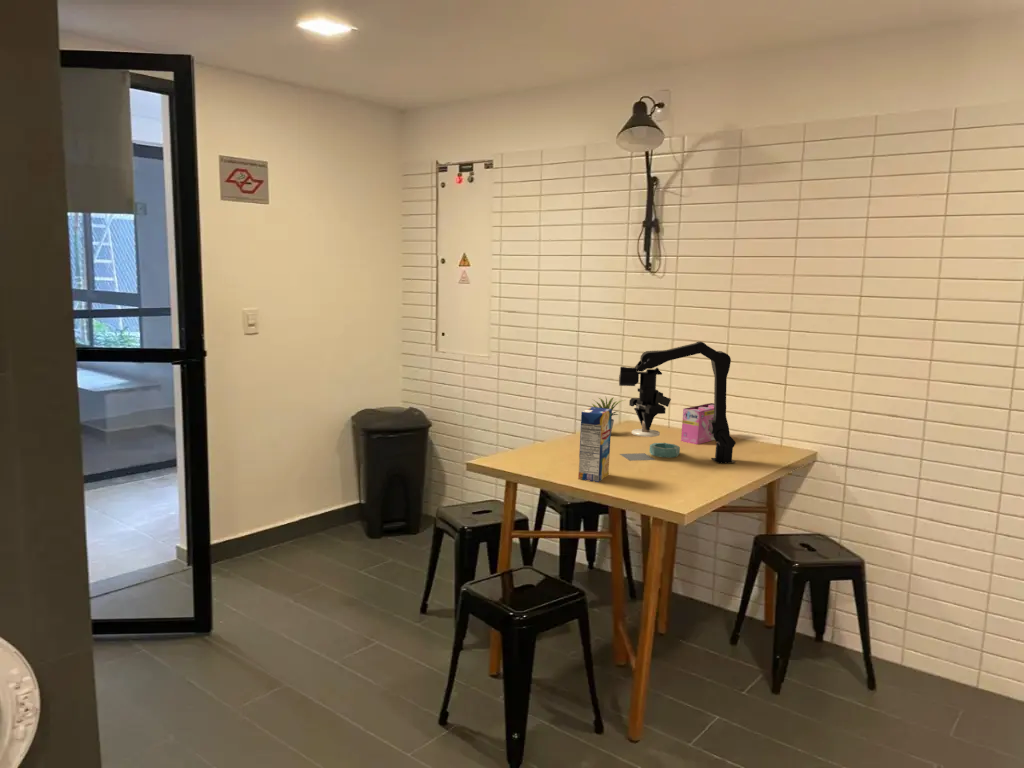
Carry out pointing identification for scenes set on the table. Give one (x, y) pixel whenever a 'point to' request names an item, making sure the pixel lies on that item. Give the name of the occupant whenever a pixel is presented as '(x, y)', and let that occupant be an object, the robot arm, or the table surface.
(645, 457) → the mat
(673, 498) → the table surface
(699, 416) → the gum box
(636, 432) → the lid
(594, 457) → the beverage box
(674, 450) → the bowl
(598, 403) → the house plant
